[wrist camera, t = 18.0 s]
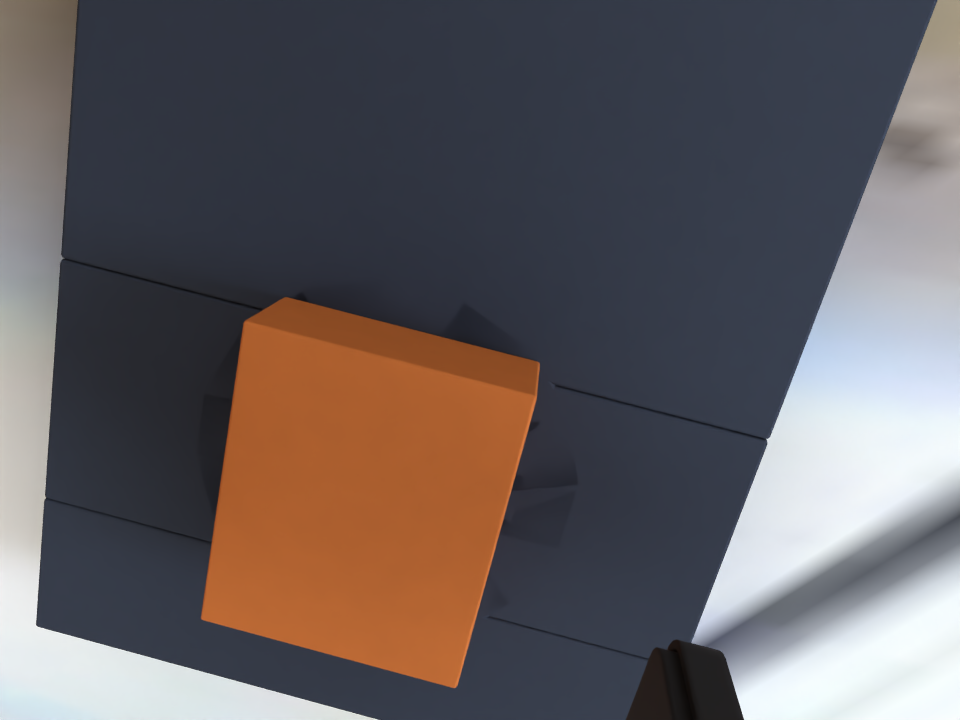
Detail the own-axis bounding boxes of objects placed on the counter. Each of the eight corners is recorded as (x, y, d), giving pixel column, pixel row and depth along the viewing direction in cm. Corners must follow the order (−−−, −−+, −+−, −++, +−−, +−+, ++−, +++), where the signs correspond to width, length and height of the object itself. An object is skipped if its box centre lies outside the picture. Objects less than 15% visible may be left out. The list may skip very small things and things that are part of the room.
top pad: (322, 272, 17) (242, 320, 13) (543, 329, 17) (537, 396, 12) (281, 510, 19) (199, 620, 14) (480, 563, 18) (456, 690, 14)
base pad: (174, -245, 14) (96, -321, 12) (910, -71, 14) (983, -114, 11) (98, 567, 20) (34, 626, 17) (626, 709, 19) (635, 790, 17)
